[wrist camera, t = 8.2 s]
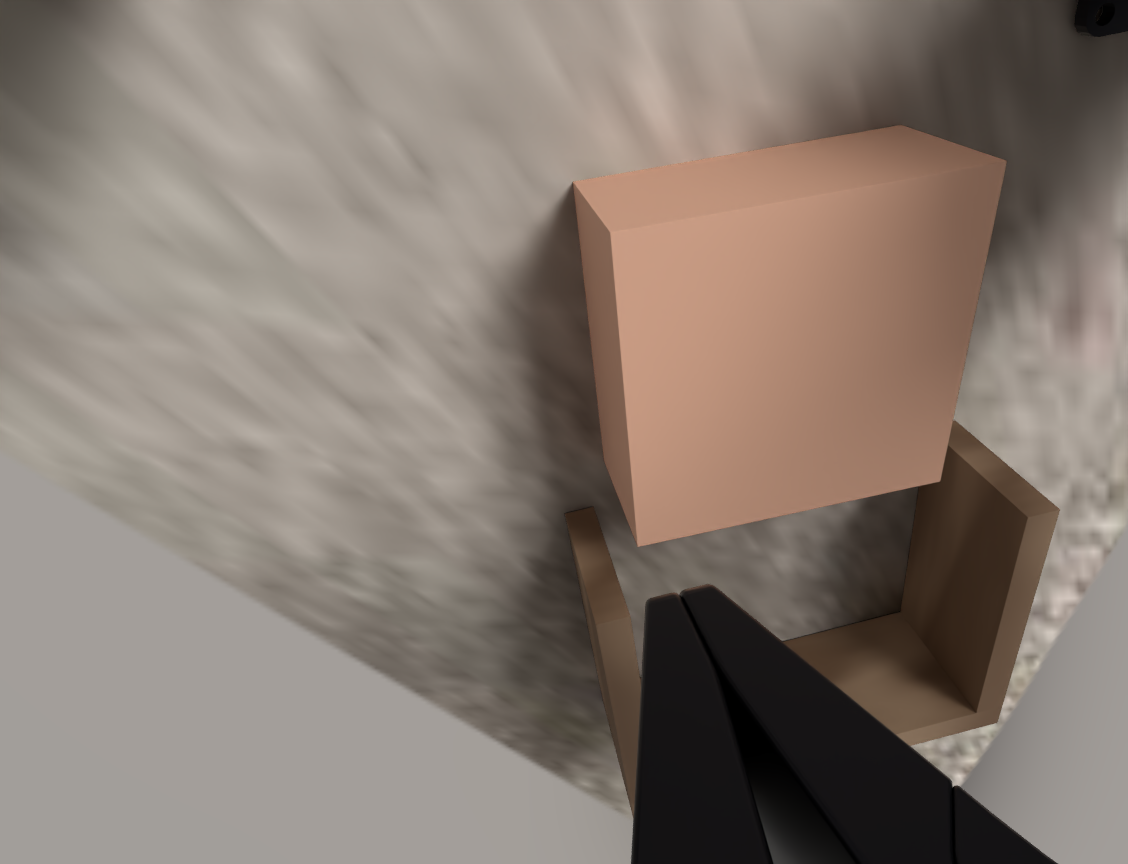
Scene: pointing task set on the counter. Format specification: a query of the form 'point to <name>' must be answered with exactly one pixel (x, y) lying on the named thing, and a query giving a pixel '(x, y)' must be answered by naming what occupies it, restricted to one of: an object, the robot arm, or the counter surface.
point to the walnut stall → (893, 642)
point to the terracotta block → (782, 323)
